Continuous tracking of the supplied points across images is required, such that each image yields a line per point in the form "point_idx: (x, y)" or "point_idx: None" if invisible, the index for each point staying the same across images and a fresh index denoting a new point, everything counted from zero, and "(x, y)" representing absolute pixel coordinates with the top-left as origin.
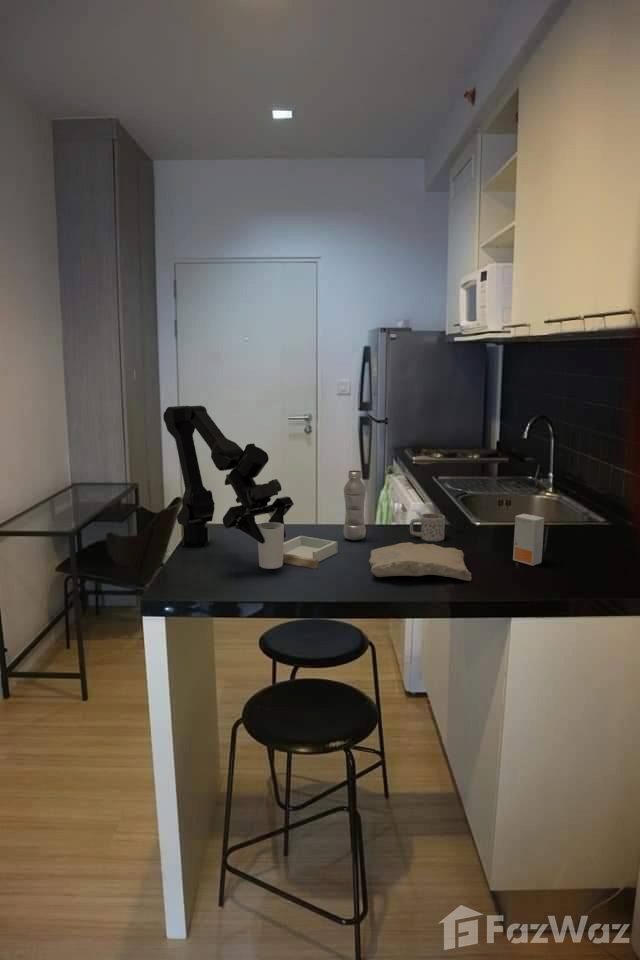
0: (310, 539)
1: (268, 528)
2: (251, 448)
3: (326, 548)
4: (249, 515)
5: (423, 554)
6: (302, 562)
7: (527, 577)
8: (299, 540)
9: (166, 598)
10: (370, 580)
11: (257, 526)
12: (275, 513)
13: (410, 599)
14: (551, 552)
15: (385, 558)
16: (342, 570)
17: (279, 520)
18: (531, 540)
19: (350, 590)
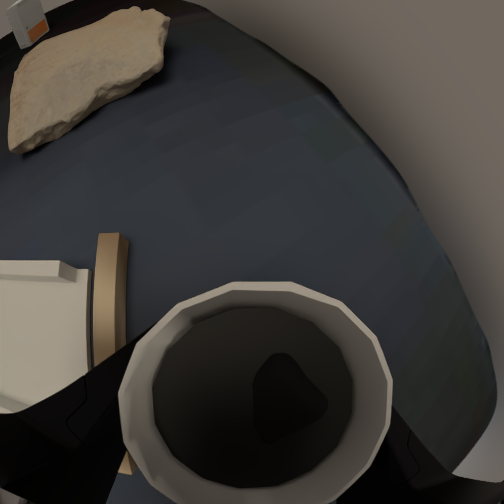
0: None
1: (194, 469)
2: None
3: (11, 261)
4: (496, 490)
5: (71, 42)
6: (120, 291)
7: (89, 14)
8: None
9: (492, 392)
10: (162, 88)
11: (395, 450)
12: (60, 499)
13: (229, 30)
14: (7, 49)
15: (83, 76)
16: (111, 165)
17: (100, 419)
18: (40, 10)
19: (247, 90)
